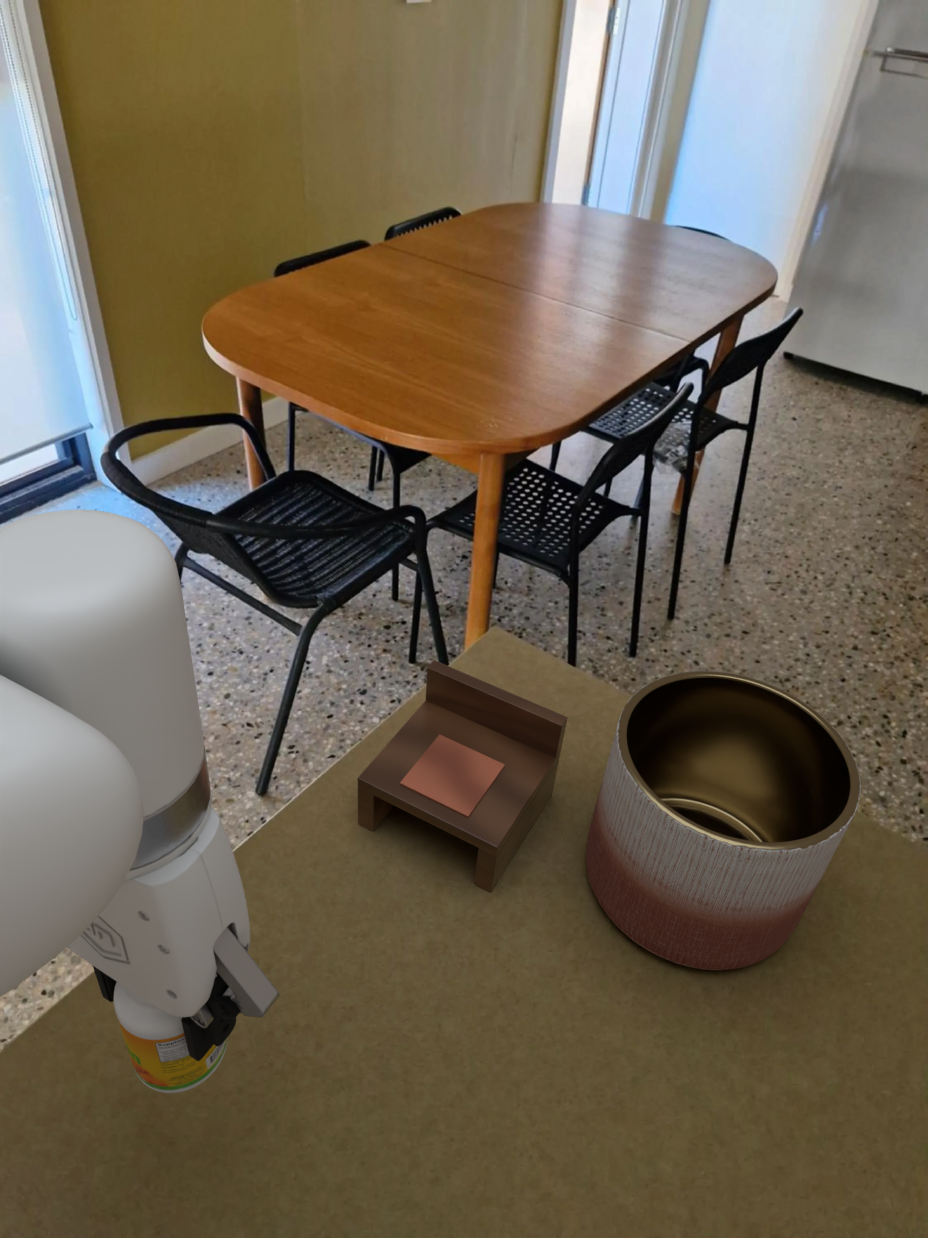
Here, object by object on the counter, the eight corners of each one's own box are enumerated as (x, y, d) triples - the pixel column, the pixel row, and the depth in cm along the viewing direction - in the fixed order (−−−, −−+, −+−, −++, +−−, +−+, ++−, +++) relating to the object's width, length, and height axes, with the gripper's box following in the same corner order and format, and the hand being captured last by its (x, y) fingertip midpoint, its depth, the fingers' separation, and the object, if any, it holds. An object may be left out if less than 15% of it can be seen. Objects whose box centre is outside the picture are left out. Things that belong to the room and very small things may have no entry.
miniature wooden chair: (490, 893, 72) (502, 814, 66) (357, 824, 76) (356, 744, 70) (552, 794, 80) (567, 717, 74) (429, 737, 85) (434, 659, 78)
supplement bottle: (123, 1027, 53) (94, 934, 47) (214, 990, 55) (197, 897, 49) (143, 1113, 49) (114, 1024, 43) (239, 1070, 51) (224, 980, 45)
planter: (540, 879, 73) (566, 749, 63) (655, 764, 84) (693, 638, 74) (730, 1026, 65) (795, 902, 55) (832, 877, 75) (902, 751, 65)
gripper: (-96, 761, 38) (5, 985, 49) (213, 953, 32) (248, 1158, 43) (47, 666, 44) (109, 887, 55) (334, 815, 38) (338, 1029, 49)
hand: (170, 1005), depth 49 cm, fingers closed on supplement bottle, 5 cm apart
